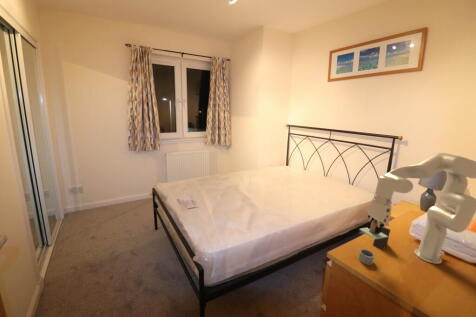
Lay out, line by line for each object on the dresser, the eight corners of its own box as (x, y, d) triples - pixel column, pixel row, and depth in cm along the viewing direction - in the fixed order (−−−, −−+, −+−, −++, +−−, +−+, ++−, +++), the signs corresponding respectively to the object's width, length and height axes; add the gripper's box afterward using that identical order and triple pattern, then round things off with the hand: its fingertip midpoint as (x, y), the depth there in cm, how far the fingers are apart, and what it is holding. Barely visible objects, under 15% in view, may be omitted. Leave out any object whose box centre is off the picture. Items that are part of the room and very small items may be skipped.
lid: (371, 227, 128) (374, 217, 127) (387, 237, 120) (390, 225, 118) (359, 229, 125) (362, 218, 123) (374, 239, 116) (378, 227, 115)
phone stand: (383, 250, 136) (388, 232, 134) (372, 245, 140) (377, 227, 138) (387, 244, 143) (391, 227, 140) (376, 240, 147) (381, 223, 144)
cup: (365, 255, 129) (367, 248, 128) (376, 264, 122) (377, 257, 121) (355, 256, 127) (356, 249, 126) (364, 265, 121) (366, 258, 120)
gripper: (402, 206, 111) (392, 239, 115) (375, 193, 126) (367, 222, 131) (390, 206, 109) (380, 240, 113) (364, 193, 125) (356, 223, 129)
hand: (373, 230), depth 122 cm, fingers closed on lid, 4 cm apart
